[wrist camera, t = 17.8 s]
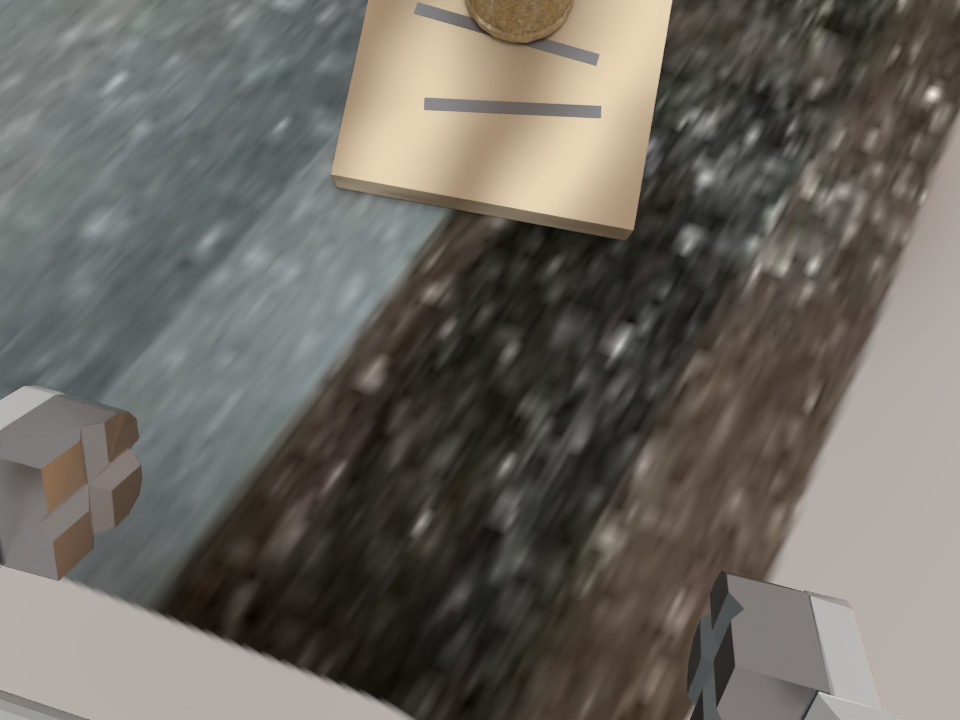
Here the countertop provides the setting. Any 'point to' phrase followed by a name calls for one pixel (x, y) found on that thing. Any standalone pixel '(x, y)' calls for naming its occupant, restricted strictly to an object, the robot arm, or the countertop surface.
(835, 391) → the countertop surface
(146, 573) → the countertop surface
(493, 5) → the sprinkles bottle
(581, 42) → the maple board
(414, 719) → the countertop surface
